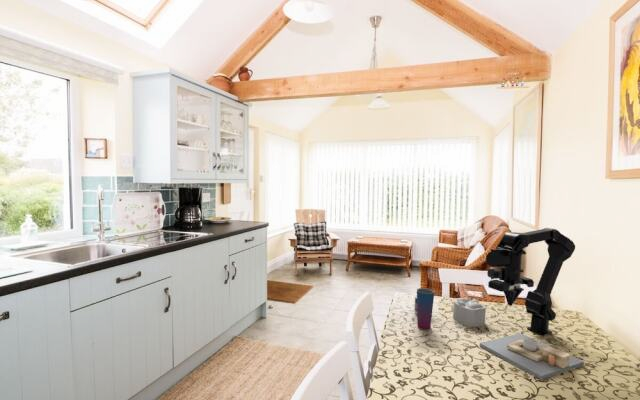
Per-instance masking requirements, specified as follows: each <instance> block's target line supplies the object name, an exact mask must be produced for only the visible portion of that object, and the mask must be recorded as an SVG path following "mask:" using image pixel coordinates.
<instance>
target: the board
mask: <svg viewBox="0 0 640 400" xmlns="http://www.w3.org/2000/svg"><path fill="white" fill-rule="evenodd" d="M520 339H523V349H526V350H528V351H530V352H533V353H535V352H537V345H540V346H542V347H545V348H547V347H552V346H550V345H548V344H546V343H544V342H541V341H539V340H538V339H537V340H536V339H534V338H532V337H530V336H528V335H525V334H523V333H522V332H521V333H520V332H519V333H515V334H510V335H506V336H503V337H498V338H495V339H491V340H487V341H482V342H479V347H480V348H482V349H484V350H486V351H488V352H490V353H491V354H493V355H495V356H497V357H499V358H501V359H502V360H505V362H508V363H509V364H512V365H513V366H515V367H517V368H519V369H521V370H523V371H524V372H527V373H528V374H530V375H532V376H534V377H535V378H537V379H539V380H541V381H542V380H545V379H547V378H551V377H553V376H557V375H559V374H562V373H565V372H568V371H571V370H573V369H576V368H579V367H583V366H584V365H585V361H584V360H581V359H579V358H577V357H575V356H573V355H571V354H570V358H569V365H568V366H567V367H565V368H561V367H558V366H556V365H554V367H552V366H549V365H548V362H547V361H545V360H540V361H538V362H537V361H535V360H532V359H530V358H528V357H525V356H523V355H521V354H519V353H516V352H514V351H512V350H510V349H507V345H508V344H511V343H513V342H515V341H518V340H520ZM552 348H554V349H556V348H555V347H554V346H553V347H552Z"/></svg>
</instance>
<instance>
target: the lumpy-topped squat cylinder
mask: <svg viewBox="0 0 640 400" xmlns="http://www.w3.org/2000/svg"><path fill="white" fill-rule="evenodd" d="M486 310H487V309H486V306H485V305H484V304H481V303H480V302H479V300H478V299H475V298H474V299H469V298H467V297H463V298H461V297H459V298H454V299H453V310H452V318H453V319H454V320H455V321H457V322H458V323H460V324H462V325H463V326H467V327H470V328H472V327H473V328H475V327H479V326H480V327H481V326H485V324H486V312H487V311H486Z"/></svg>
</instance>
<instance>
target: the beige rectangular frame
mask: <svg viewBox="0 0 640 400" xmlns="http://www.w3.org/2000/svg"><path fill="white" fill-rule="evenodd" d="M554 348H555V347H553V348H552V346H550V347H547V348H545V347H542V346H540V345H537V352H535V353H533V352H530V351H528V350H526V349H523V339H520V340H518V341H515V342H513V343H511V344H508V345H507V349H510V350H512V351H514V352H516V353H519V354H521V355H523V356H525V357H528V358H530V359H532V360H535V361H537V362H538V361H540V360H545V361H547V362H548V360H549V355H553V356H555V363H554V365H556V366H558V367H561V368H565V367H567V366H568V365H569V358H570V355H571V354H570V353H567V352H564V351H562V350H559V349H557V348H555V349H554Z"/></svg>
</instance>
